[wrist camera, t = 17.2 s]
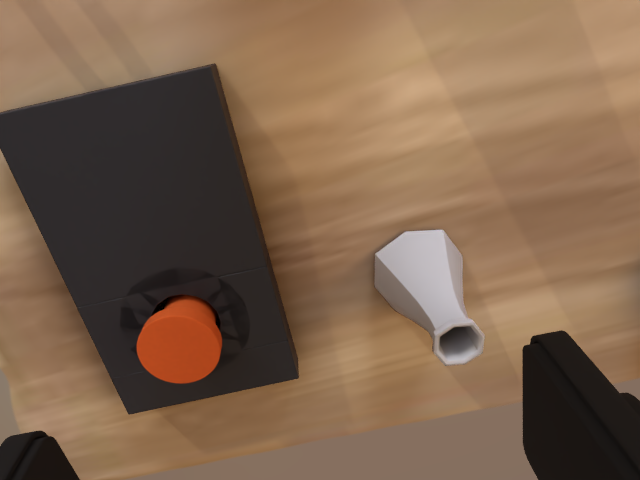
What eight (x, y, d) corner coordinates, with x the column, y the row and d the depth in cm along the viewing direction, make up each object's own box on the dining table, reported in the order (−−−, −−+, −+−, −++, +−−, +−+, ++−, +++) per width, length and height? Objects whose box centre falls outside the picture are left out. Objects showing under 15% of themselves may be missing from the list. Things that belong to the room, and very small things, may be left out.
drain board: (6, 110, 32) (-16, 117, 29) (215, 63, 31) (210, 65, 29) (137, 393, 41) (128, 414, 39) (298, 359, 41) (298, 378, 39)
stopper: (146, 284, 37) (123, 326, 32) (217, 268, 37) (206, 308, 32) (170, 343, 39) (152, 391, 34) (237, 329, 39) (230, 374, 34)
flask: (386, 320, 40) (417, 407, 31) (359, 246, 37) (385, 316, 28) (471, 291, 39) (528, 370, 30) (450, 213, 37) (506, 275, 27)
